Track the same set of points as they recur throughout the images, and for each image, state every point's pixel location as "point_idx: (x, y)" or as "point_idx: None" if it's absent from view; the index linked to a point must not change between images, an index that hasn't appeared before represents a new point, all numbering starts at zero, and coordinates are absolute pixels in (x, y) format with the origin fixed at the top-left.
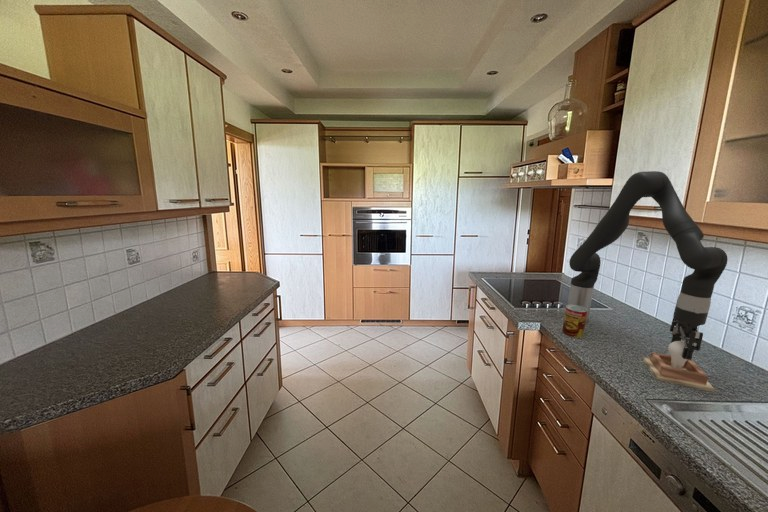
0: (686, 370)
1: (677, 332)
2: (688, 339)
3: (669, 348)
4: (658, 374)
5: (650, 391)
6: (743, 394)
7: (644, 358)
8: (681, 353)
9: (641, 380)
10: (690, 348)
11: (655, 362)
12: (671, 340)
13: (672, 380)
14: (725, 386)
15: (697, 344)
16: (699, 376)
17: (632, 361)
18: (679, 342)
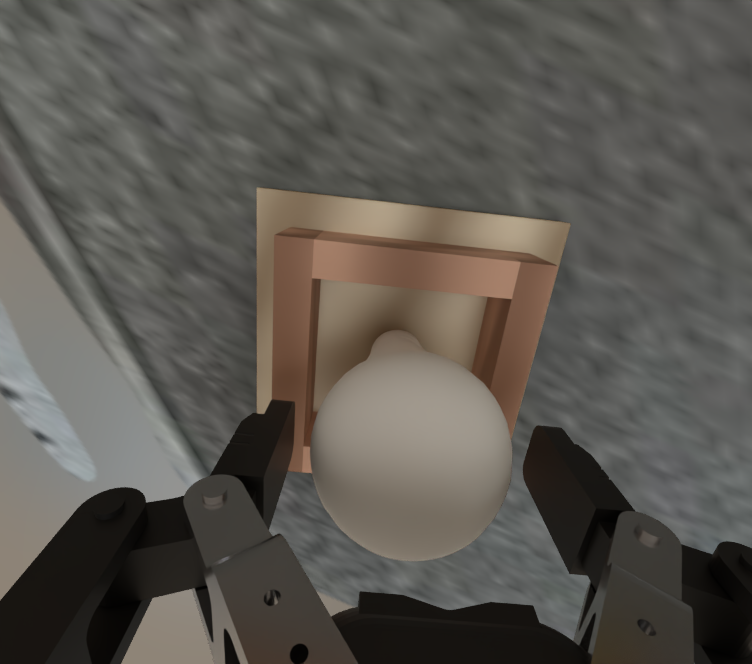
0: (305, 385)
1: (593, 602)
2: (215, 625)
3: (409, 360)
4: (304, 213)
5: (61, 57)
6: (299, 541)
7: (538, 220)
8: (317, 420)
9: (202, 57)
10: (85, 513)
11: (431, 247)
12: (582, 458)
13: (258, 273)
14: None
15: (90, 648)
16: None
17: (502, 119)
18: (405, 491)
